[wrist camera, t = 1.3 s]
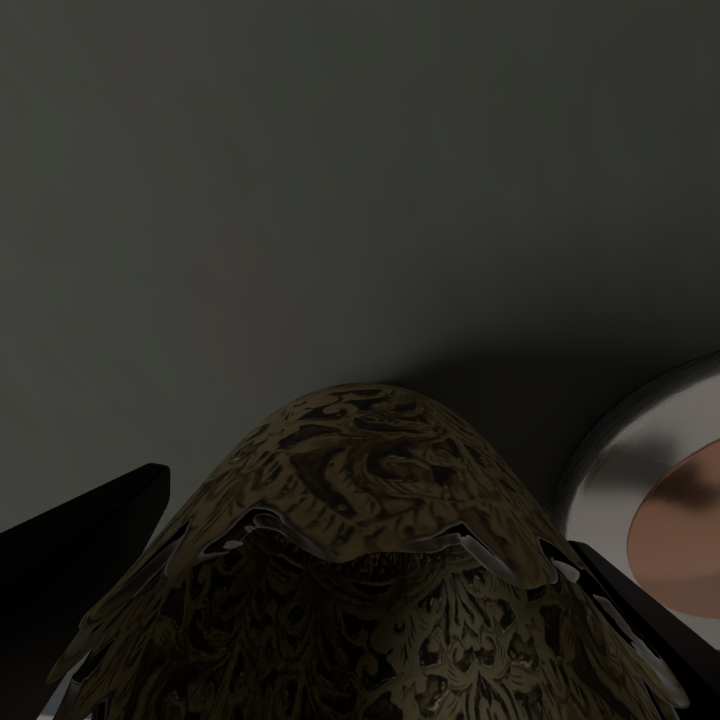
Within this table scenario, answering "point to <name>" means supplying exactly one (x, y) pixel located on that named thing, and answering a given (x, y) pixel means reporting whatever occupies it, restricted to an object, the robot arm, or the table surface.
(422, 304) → the table surface
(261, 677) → the cup
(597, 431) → the rosette plate
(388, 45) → the table surface
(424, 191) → the table surface
